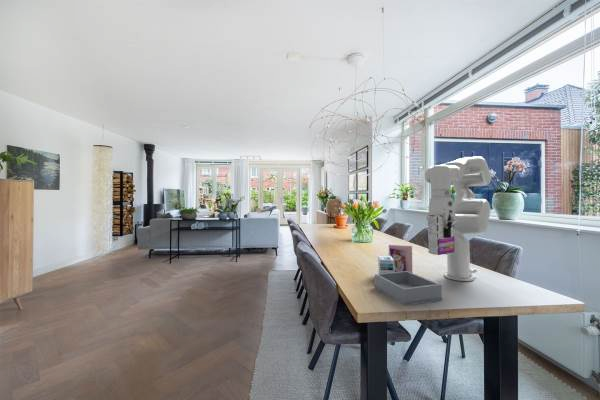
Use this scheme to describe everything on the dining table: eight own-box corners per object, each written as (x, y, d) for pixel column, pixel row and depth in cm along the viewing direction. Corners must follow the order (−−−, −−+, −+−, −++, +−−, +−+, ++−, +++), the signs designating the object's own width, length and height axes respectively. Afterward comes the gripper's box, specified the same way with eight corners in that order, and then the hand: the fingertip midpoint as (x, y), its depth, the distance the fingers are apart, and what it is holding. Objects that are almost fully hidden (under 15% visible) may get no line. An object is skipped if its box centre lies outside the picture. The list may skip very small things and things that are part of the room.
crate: (407, 283, 119) (406, 270, 119) (441, 300, 100) (441, 284, 100) (374, 287, 114) (374, 274, 114) (404, 305, 95) (404, 289, 95)
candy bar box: (443, 250, 114) (443, 213, 114) (455, 252, 110) (454, 214, 110) (427, 253, 109) (426, 214, 109) (438, 255, 105) (437, 215, 104)
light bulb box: (395, 283, 120) (394, 260, 120) (380, 282, 122) (380, 259, 122) (391, 276, 131) (391, 255, 131) (378, 275, 132) (377, 254, 132)
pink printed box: (387, 273, 136) (387, 245, 136) (396, 270, 140) (396, 243, 140) (407, 278, 126) (406, 248, 126) (416, 276, 130) (415, 246, 130)
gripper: (465, 193, 102) (466, 239, 102) (432, 194, 119) (432, 233, 119) (450, 194, 100) (450, 240, 100) (418, 194, 117) (419, 234, 117)
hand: (441, 236), depth 109 cm, fingers closed on candy bar box, 5 cm apart
